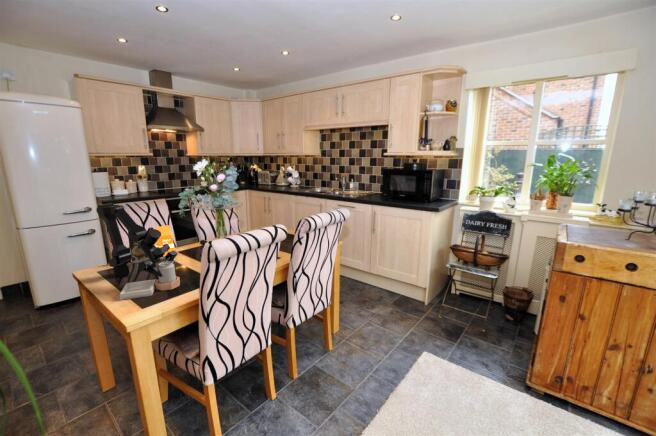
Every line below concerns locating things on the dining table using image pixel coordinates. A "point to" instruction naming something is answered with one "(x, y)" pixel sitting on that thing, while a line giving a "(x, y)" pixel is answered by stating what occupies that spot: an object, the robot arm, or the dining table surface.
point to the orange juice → (165, 238)
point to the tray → (138, 289)
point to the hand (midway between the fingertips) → (168, 273)
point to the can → (166, 272)
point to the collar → (167, 285)
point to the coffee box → (136, 252)
